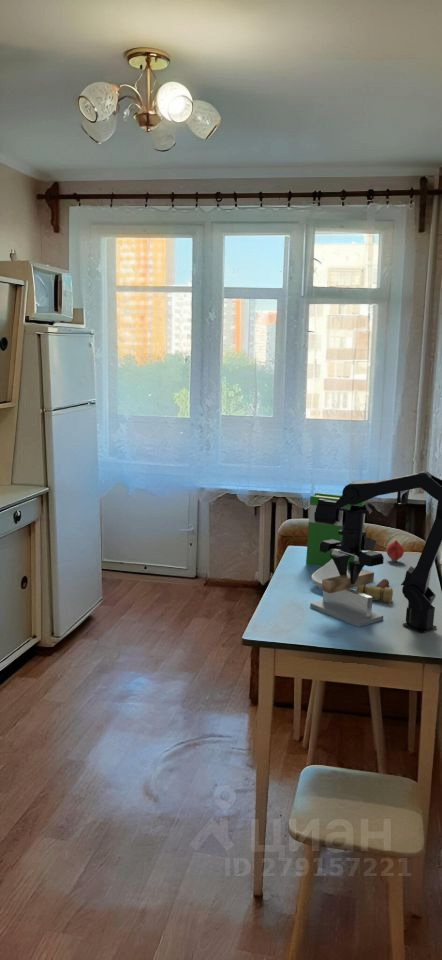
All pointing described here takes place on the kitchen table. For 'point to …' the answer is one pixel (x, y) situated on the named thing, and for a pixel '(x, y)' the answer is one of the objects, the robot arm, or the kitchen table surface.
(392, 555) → the onion
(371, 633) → the kitchen table surface
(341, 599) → the steel ridge
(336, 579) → the walnut batten
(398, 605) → the kitchen table surface
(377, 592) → the gavel
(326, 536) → the hardback book
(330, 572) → the spoon rest
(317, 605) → the board
